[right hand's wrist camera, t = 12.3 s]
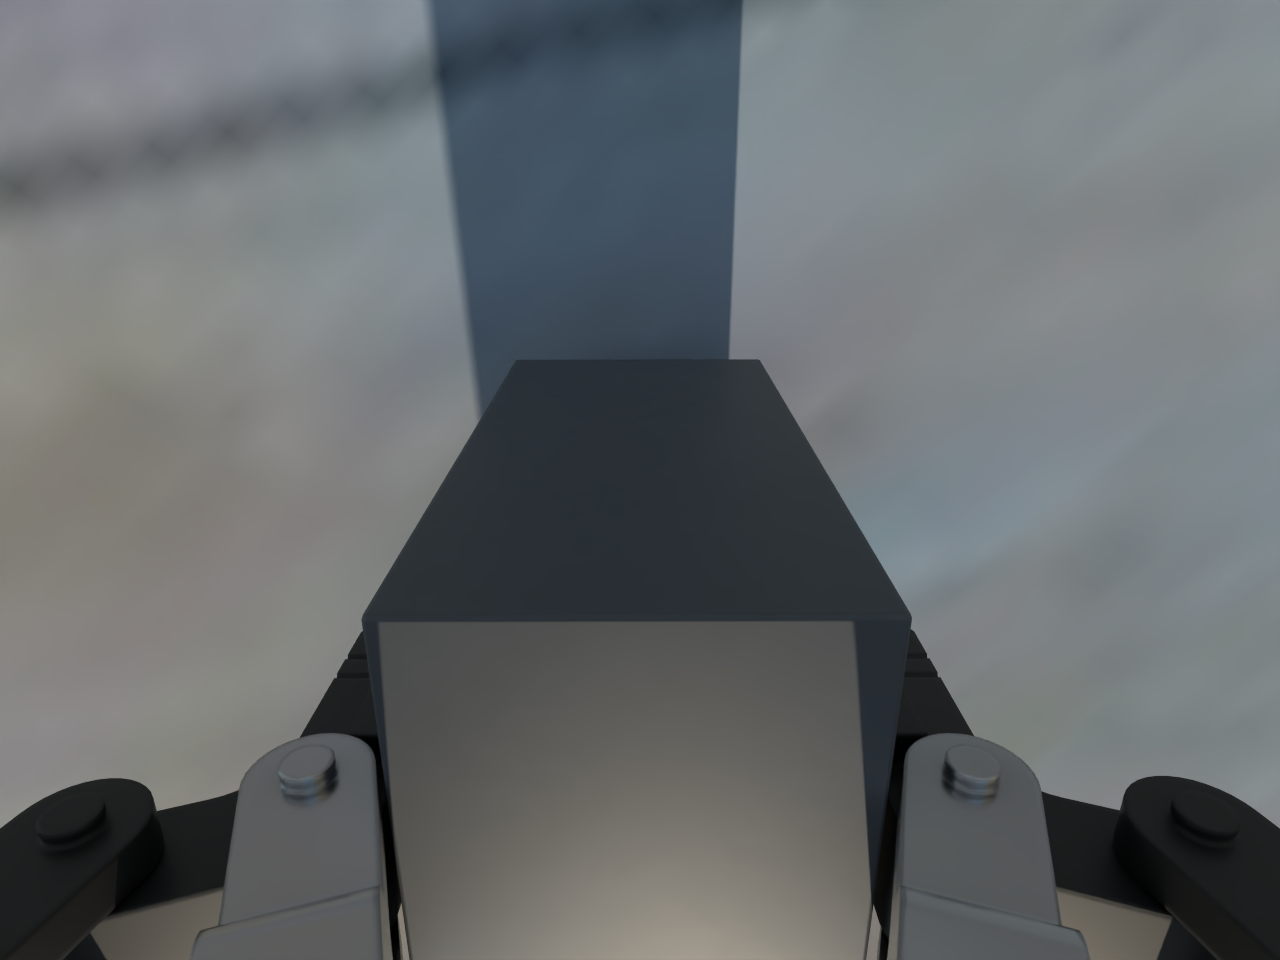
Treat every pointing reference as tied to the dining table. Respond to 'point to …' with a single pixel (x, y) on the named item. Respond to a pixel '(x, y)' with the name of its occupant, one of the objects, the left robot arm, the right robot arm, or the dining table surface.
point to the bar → (637, 679)
